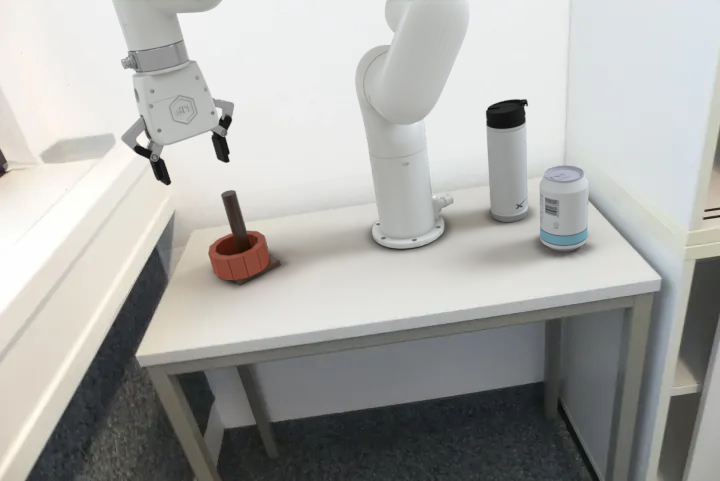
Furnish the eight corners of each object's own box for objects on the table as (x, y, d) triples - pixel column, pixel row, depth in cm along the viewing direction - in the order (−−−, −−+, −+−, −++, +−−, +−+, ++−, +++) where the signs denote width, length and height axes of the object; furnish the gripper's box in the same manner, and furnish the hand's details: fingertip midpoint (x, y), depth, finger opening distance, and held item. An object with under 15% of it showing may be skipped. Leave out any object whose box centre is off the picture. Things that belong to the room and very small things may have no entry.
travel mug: (530, 221, 101) (528, 106, 92) (490, 223, 103) (484, 110, 93) (529, 205, 106) (527, 94, 97) (491, 206, 108) (485, 98, 98)
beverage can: (596, 248, 91) (598, 175, 85) (553, 259, 90) (554, 186, 84) (572, 229, 97) (573, 160, 91) (532, 239, 96) (531, 170, 90)
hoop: (253, 245, 107) (248, 225, 105) (280, 262, 100) (274, 241, 98) (205, 267, 103) (199, 247, 101) (230, 286, 96) (223, 265, 94)
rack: (258, 250, 107) (238, 178, 101) (281, 265, 101) (261, 190, 95) (218, 269, 103) (195, 196, 97) (239, 285, 98) (216, 209, 91)
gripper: (107, 77, 76) (150, 198, 84) (227, 44, 85) (256, 157, 93) (91, 72, 82) (133, 186, 90) (205, 41, 90) (234, 148, 98)
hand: (195, 171), depth 91 cm, fingers open, 9 cm apart
